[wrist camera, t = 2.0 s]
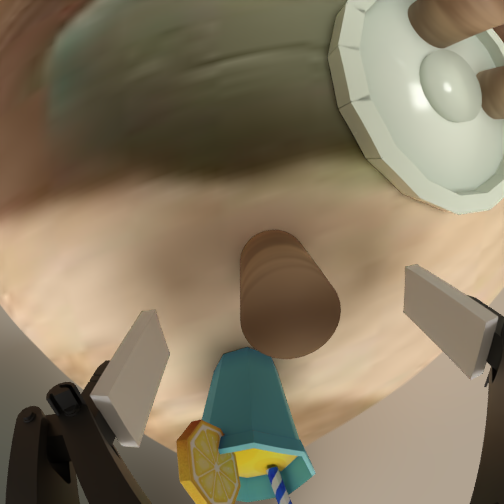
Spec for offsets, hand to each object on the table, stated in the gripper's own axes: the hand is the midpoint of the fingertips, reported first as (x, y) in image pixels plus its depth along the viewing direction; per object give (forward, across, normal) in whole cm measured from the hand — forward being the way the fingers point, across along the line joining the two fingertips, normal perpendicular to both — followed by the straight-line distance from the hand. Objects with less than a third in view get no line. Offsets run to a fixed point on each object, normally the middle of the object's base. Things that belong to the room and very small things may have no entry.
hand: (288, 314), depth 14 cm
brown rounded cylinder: (+6, +16, +18) cm, 25 cm away
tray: (+7, +16, +13) cm, 21 cm away
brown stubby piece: (+7, 0, +1) cm, 7 cm away
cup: (+7, -3, -9) cm, 12 cm away
